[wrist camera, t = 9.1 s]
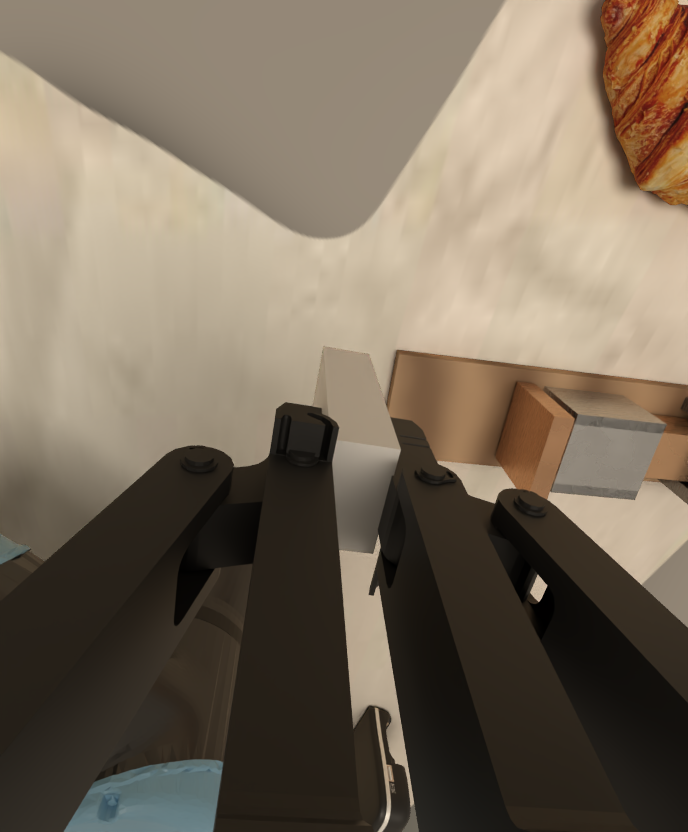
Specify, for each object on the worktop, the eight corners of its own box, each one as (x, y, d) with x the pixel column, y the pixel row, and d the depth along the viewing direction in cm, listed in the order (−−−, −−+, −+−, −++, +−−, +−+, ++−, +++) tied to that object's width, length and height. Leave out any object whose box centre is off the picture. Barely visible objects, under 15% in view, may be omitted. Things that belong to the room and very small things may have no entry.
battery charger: (374, 748, 62) (388, 862, 51) (345, 741, 61) (352, 856, 51) (399, 709, 59) (419, 821, 49) (369, 702, 59) (383, 814, 48)
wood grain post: (495, 457, 45) (526, 502, 39) (517, 381, 42) (554, 416, 36) (700, 477, 47) (761, 523, 41) (733, 407, 45) (805, 444, 38)
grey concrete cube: (522, 456, 46) (550, 492, 40) (544, 386, 43) (578, 414, 38) (597, 463, 46) (634, 499, 41) (623, 395, 44) (667, 424, 38)
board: (378, 448, 46) (380, 454, 45) (396, 349, 42) (399, 354, 41) (707, 480, 49) (716, 487, 48) (750, 392, 46) (761, 398, 45)
